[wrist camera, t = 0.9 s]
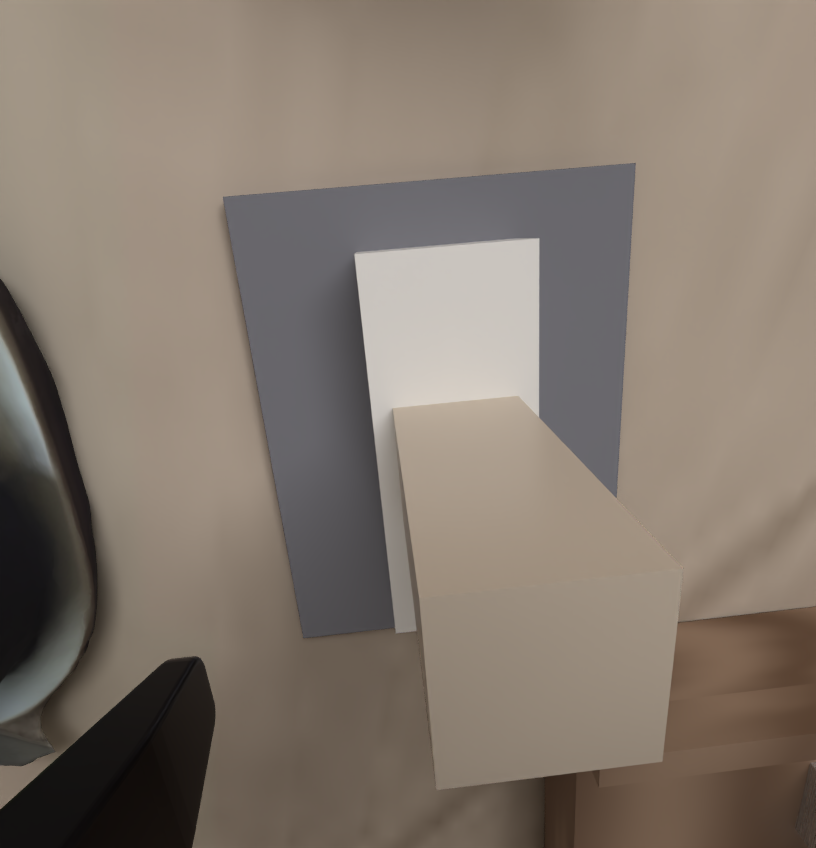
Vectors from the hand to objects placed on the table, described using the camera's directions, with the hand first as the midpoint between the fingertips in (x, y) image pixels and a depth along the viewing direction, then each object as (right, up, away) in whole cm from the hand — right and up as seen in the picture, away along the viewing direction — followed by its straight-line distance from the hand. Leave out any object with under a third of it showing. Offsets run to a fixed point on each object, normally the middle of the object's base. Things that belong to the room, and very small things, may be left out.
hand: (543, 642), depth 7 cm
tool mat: (-1, +3, +8) cm, 9 cm away
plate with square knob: (-1, +3, +8) cm, 8 cm away
